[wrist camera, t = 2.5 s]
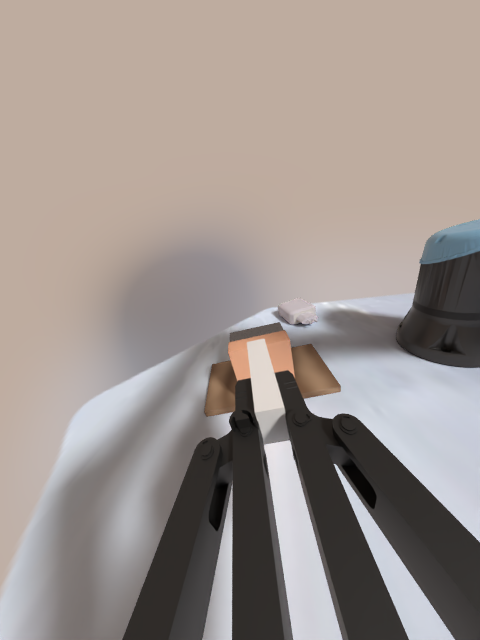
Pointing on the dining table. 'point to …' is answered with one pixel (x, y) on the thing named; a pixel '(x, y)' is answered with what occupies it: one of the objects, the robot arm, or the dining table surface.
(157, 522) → the dining table surface
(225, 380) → the base board
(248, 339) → the orange block
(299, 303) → the charger
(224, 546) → the dining table surface
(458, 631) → the robot arm
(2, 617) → the dining table surface
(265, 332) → the socket
